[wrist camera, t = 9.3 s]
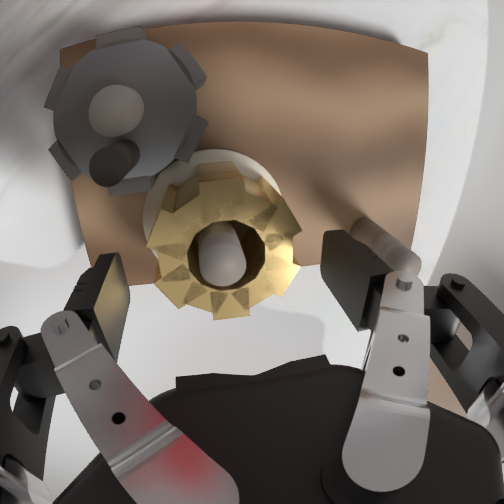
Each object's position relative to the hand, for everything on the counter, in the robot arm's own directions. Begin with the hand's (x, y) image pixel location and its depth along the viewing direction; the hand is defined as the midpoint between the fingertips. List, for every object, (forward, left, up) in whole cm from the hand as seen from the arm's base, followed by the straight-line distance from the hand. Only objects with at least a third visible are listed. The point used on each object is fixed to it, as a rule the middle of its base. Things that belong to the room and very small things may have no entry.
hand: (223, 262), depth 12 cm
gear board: (-3, +3, -7) cm, 8 cm away
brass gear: (0, 0, -5) cm, 5 cm away
